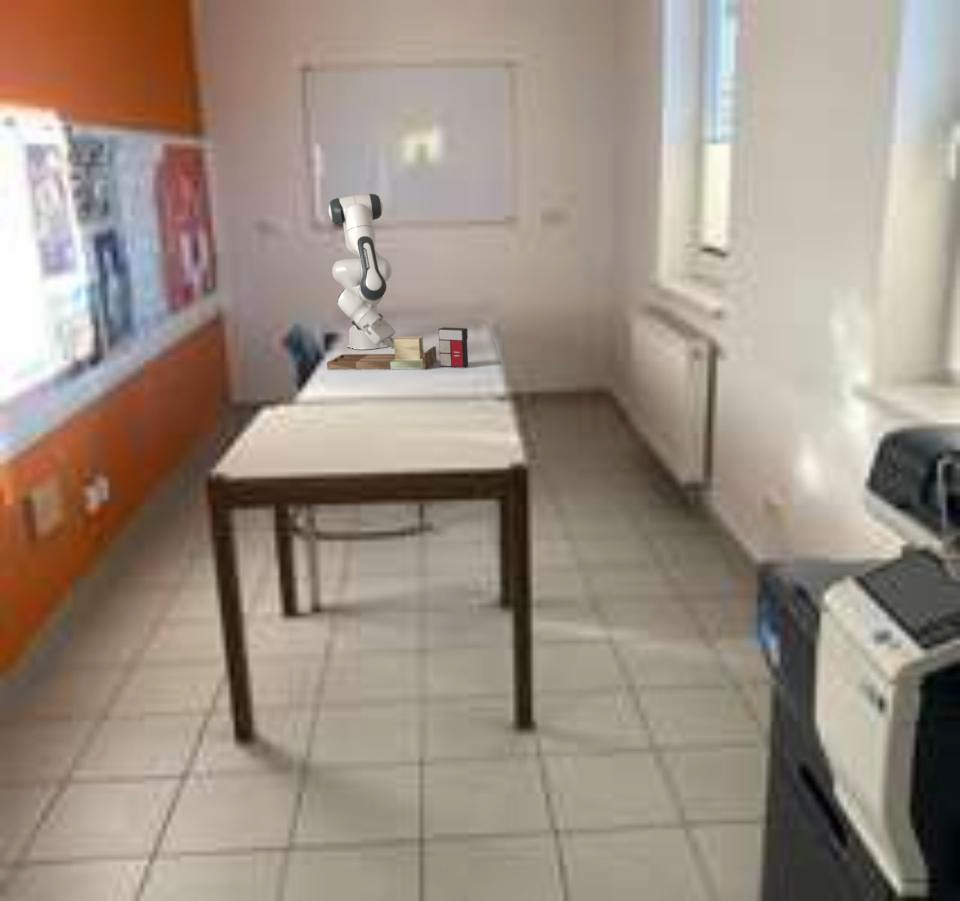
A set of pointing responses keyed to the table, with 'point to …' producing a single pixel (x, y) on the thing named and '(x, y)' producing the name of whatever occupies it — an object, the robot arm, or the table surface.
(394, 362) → the box
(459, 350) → the toy cabinet
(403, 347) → the block
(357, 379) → the table surface
